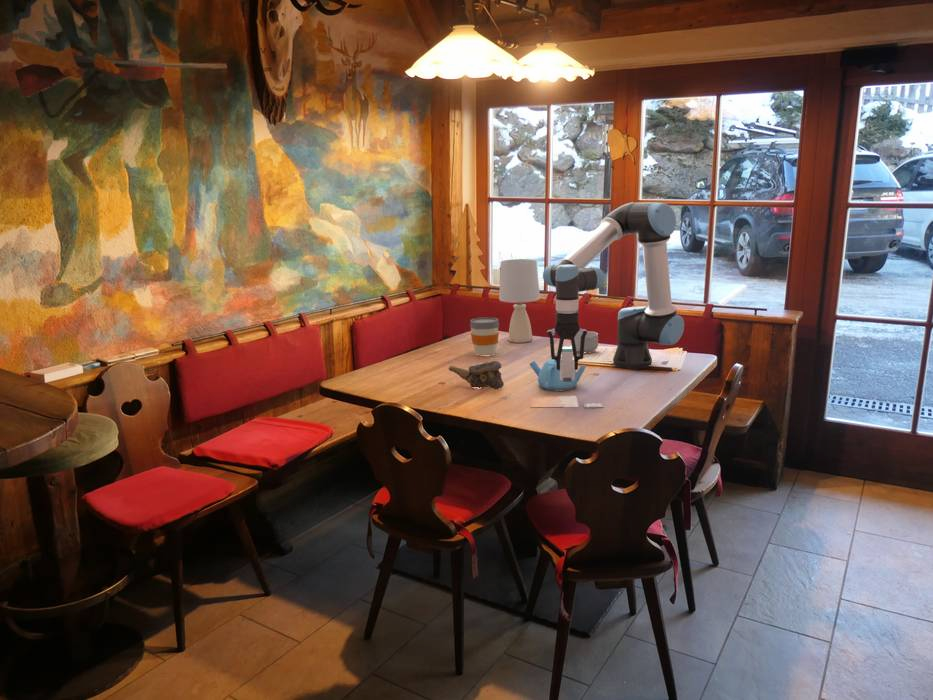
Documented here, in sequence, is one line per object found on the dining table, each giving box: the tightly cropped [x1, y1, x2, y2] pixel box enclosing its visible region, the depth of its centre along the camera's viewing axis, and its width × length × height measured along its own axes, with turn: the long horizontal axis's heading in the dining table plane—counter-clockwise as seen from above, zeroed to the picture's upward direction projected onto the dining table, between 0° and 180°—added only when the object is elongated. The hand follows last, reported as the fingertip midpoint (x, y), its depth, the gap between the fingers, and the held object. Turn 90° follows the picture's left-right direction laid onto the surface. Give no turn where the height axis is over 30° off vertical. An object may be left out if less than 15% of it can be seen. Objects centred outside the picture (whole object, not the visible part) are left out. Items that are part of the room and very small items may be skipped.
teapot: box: [529, 356, 587, 392], centre depth 277 cm, size 15×17×11 cm
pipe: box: [448, 360, 504, 390], centre depth 280 cm, size 9×22×10 cm, turn 73°
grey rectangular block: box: [561, 346, 574, 382], centre depth 258 cm, size 4×4×12 cm
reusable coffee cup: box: [469, 317, 500, 356], centre depth 329 cm, size 13×13×15 cm
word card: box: [583, 402, 604, 409], centre depth 253 cm, size 6×4×1 cm, turn 86°
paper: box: [558, 395, 579, 408], centre depth 259 cm, size 16×12×1 cm
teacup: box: [574, 330, 599, 353], centre depth 328 cm, size 14×11×8 cm
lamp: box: [498, 258, 541, 344], centre depth 350 cm, size 19×19×37 cm
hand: (567, 378), depth 260 cm, fingers closed on grey rectangular block, 3 cm apart
